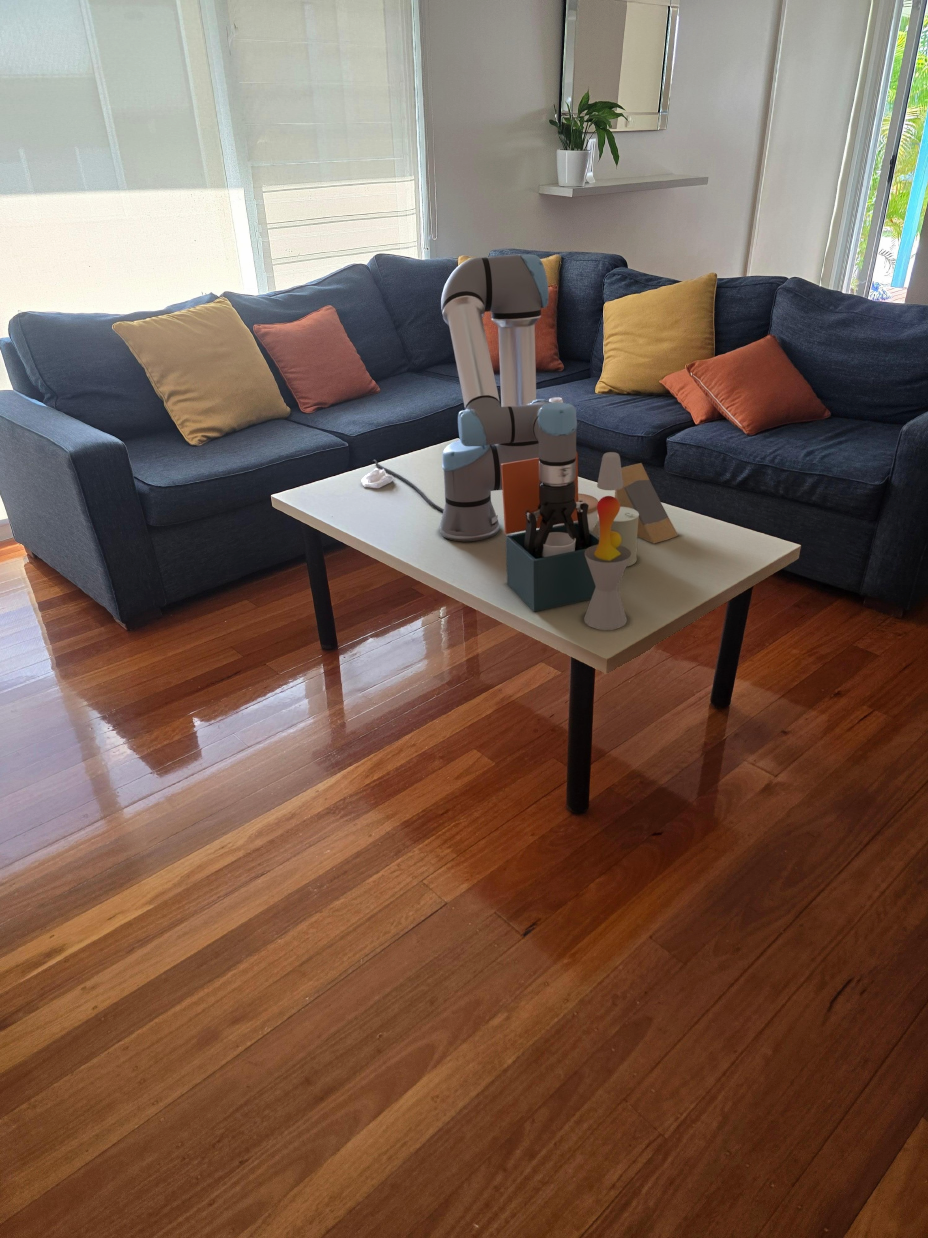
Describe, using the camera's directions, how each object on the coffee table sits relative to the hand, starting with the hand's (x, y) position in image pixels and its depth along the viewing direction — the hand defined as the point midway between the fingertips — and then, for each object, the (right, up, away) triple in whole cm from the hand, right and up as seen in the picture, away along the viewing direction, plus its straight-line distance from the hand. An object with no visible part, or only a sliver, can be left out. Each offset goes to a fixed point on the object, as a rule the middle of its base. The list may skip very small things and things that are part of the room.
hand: (556, 580), depth 182 cm
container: (0, -2, +1) cm, 2 cm away
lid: (-4, +19, -2) cm, 19 cm away
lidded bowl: (+7, +12, +27) cm, 30 cm away
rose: (-46, +32, +69) cm, 89 cm away
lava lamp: (+9, -9, -12) cm, 17 cm away
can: (+16, +5, +13) cm, 21 cm away
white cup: (0, 0, 0) cm, 0 cm away
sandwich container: (+25, +14, +28) cm, 40 cm away
